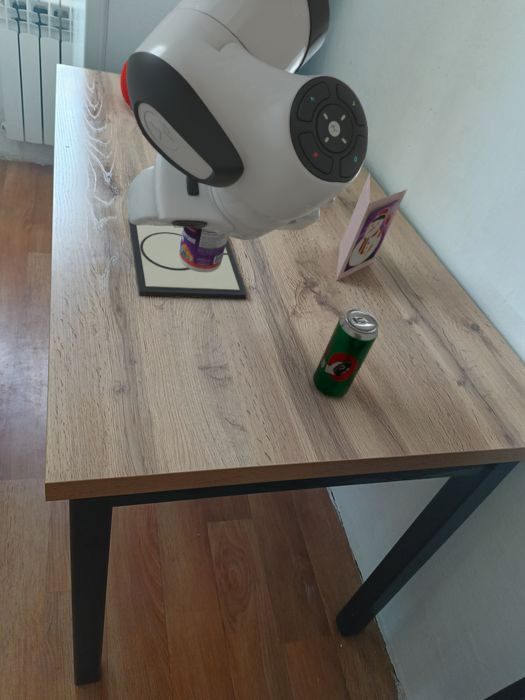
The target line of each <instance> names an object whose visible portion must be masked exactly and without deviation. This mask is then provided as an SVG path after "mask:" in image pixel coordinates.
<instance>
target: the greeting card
mask: <svg viewBox="0 0 525 700" xmlns="http://www.w3.org/2000/svg"><path fill="white" fill-rule="evenodd" d="M407 191H408V188H406V189H403V190H401V191H397V192H395V193H393V194H389V195H387V196H384V197H382V198H379V199H376V200H374V201H371V172H369V173H368V175H367V178H366V180H365V182H364V185H363V188H362V190H361V192H360V194H359V198H358V200H357V202H356V205H355V207H354V209H353V212H352V215H351V217H350V220H349V222H348V223H347V227H346V229H345V231H344V234H343V236H342V239H341V241H340V244H339V247H338V257H337V270H336V272H337V273H336V281H339V280H341V279H344V278H345V277H347V276H350V275H351V274H354V273H356V272H358V271H359V270H361V269H363V268H366V267H367V266H369V265H372V264H373V263H374V261H375V259H376V257H377V255H378V253H379V251H380V248H381V247H382V244H383V242H384V240H385V237H386V235H387V234H388V232H389V229H390V228H391V225H392V223H393V221H394V219H395V216H396V214H397V213H398V210H399V208H400V206H401V204H402V202H403V200H404V198H405V195H406V193H407Z"/></svg>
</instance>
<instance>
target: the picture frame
mask: <svg viewBox="0 0 525 700" xmlns="http://www.w3.org/2000/svg"><path fill="white" fill-rule="evenodd" d="M127 220H128V226H129V233H130V239H131V240H130V241H131V246H132V247H131V248H132V255H133V261H134V269H135V276H136V283H137V290H138V295H139V296H142V297H143V296H146V297H175V298H176V297H177V298H178V297H179V298H207V299H212V298H213V299H234V300H235V299H237V300H238V299H241V300H246V299H247V295H248V294H247V292H246V289H245V286H244V283H243V280H242V277H241V274H240V271H239V268H238V266H237V263H236V260H235V256H234V254H233V251H232V248H231V245H230V242H229V240H228V238H227V242H226V246H225V250H224V255H223V258H222V262H221V265H220V267H219V268H218V269H217V270H215V271H212V272H197V271H193V270H191V269H189V268H187V267H186V266H185V265H183V264H182V262H181V261H180V259H179V249H180V244H181V238H182V232H183V228H174V227H173V226H149V225H134V224H131V223H130V221H129V217H127Z"/></svg>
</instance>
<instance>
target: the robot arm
mask: <svg viewBox="0 0 525 700" xmlns="http://www.w3.org/2000/svg"><path fill="white" fill-rule="evenodd" d="M330 10H331V9H330V0H180V2H179V3H178V4H177V5H176V6H175V7H174V8H173V10H171V11H169V12H168V13H167V14H166V16H164V17H163V19H162V20H161V21H160V22H159V23H158V24H157V25H156V26H155V27H154V28H153V30H152V31H151V32H150V33H149V34H148V36H147V37H146V38H145V39H144V40H143V41H142V42H141V44H140V45H139V46H138V47H137V48H136V49H135V51H134V52H133V53H132V54H130V56H129V57H128V58H127V60H128V62H127V70H126V80H127V89H128V94H129V98H130V102H131V106H132V107H131V109H132V112H133V115H134V118H135V121H136V124H137V126H138V128H139V131H140V132H141V134H142V135H143V137H144V138H145V140H146V141H147V142H148V143H149V144H150V146H151V147H152V149H154V150H155V151H156V152H157V153H156V154H155V160H154V165H150V166H148V167H145V168H144V169H143V170H141V171H139V173H138V174H137V175H136V176H135V177H134V179H133V180H132V182H131V183H130V184H129V186H128V187H127V192H126V193H127V194H126V195H127V197H126V200H127V201H126V203H127V207H126V208H127V216H128V217H129V220H128V222H129V221H130V223H131V224H134V225H149V226H173V227H174V228H186V227H193V228H201V229H206V230H209V231H213V232H216V233H220V234H226V235H228V237H230V238H233V239H236V240H243V241H252V240H257V239H259V238H262V237H264V236H267V235H268V234H270V233H273V232H274V231H289V232H290V231H291V232H292V231H294V232H295V231H300V230H304V229H306V228H308V227H309V226H311V225H314V224H315V223H316V222H317V221H318V220H319V219H320V217H321V210H324V209H327V208H329V207H331V206H333V205H334V204H335V198H336V197H338V196H339V195H341V194H342V193H343V192H344V191H345V190H347V188H349V187H350V186H351V184H352V183H353V182H354V181H355V180H356V178H357V176H358V175H359V173H360V172H361V169H362V167H363V165H364V163H365V160H366V157H367V153H368V147H369V125H368V118H367V115H366V112H365V109H364V106H363V104H362V102H361V100H360V98H359V97H358V95H357V94H356V92H355V91H354V90H353V88H351V86H350V85H349V84H347V83H346V82H345V81H343V80H341V78H338V77H335V76H332V75H329V74H312V75H311V74H310V75H309V74H308V75H307V74H305V75H304V74H299V73H298V74H297V72H298V71H299V70H300V69H301V68H302V67H303V66H304V65H305V64H306V63H308V61H309V60H310V59H311V58H312V57H313V56H314V55H315V54H316V53H317V52H318V51H319V50H320V49H321V47H322V46H323V44H324V42H325V40H326V38H327V35H328V31H329V27H330V20H331V19H330V18H331V15H330V14H331V12H330ZM128 217H127V218H128Z"/></svg>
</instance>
